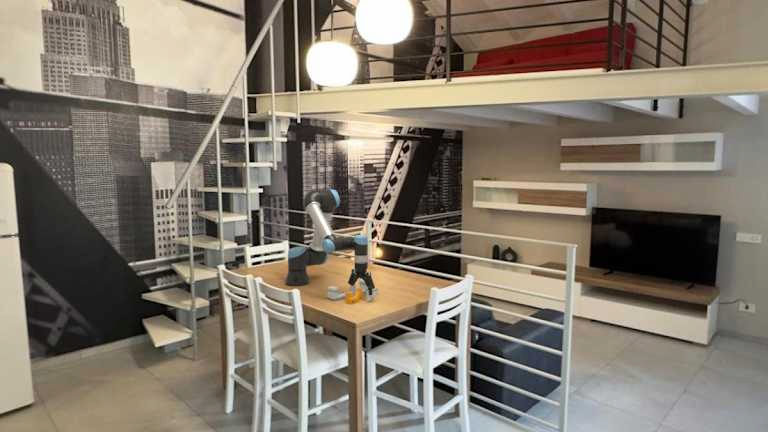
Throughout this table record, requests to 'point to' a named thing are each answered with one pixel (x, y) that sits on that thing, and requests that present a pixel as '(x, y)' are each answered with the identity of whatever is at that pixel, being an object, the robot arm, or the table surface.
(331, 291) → the module
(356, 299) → the orange irregular piece
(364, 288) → the module
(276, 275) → the table surface
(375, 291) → the module
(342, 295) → the din board
